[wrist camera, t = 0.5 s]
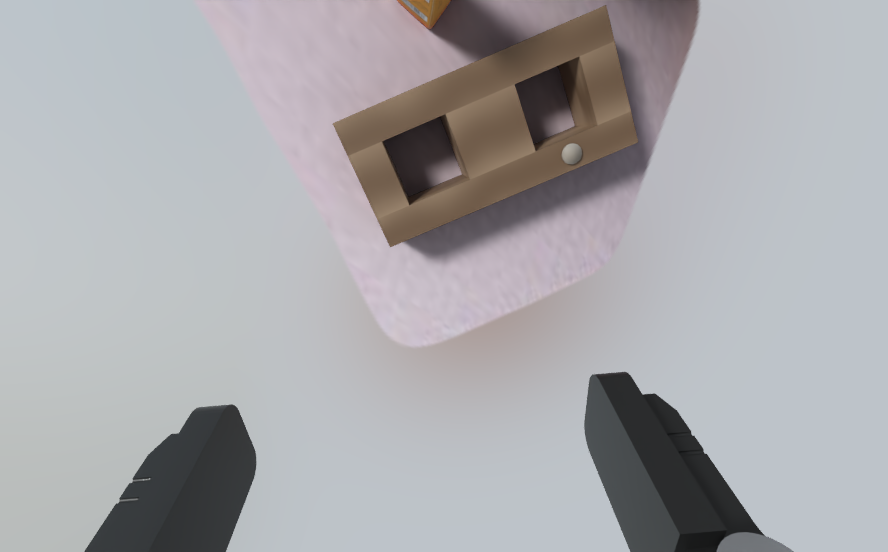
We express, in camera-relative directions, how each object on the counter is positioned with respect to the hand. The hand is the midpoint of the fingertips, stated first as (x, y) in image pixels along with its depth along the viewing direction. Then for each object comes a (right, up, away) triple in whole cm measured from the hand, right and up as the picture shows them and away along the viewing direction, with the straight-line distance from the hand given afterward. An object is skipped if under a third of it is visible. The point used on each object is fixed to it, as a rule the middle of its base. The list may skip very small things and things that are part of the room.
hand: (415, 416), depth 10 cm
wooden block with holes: (+3, +14, +23) cm, 27 cm away
